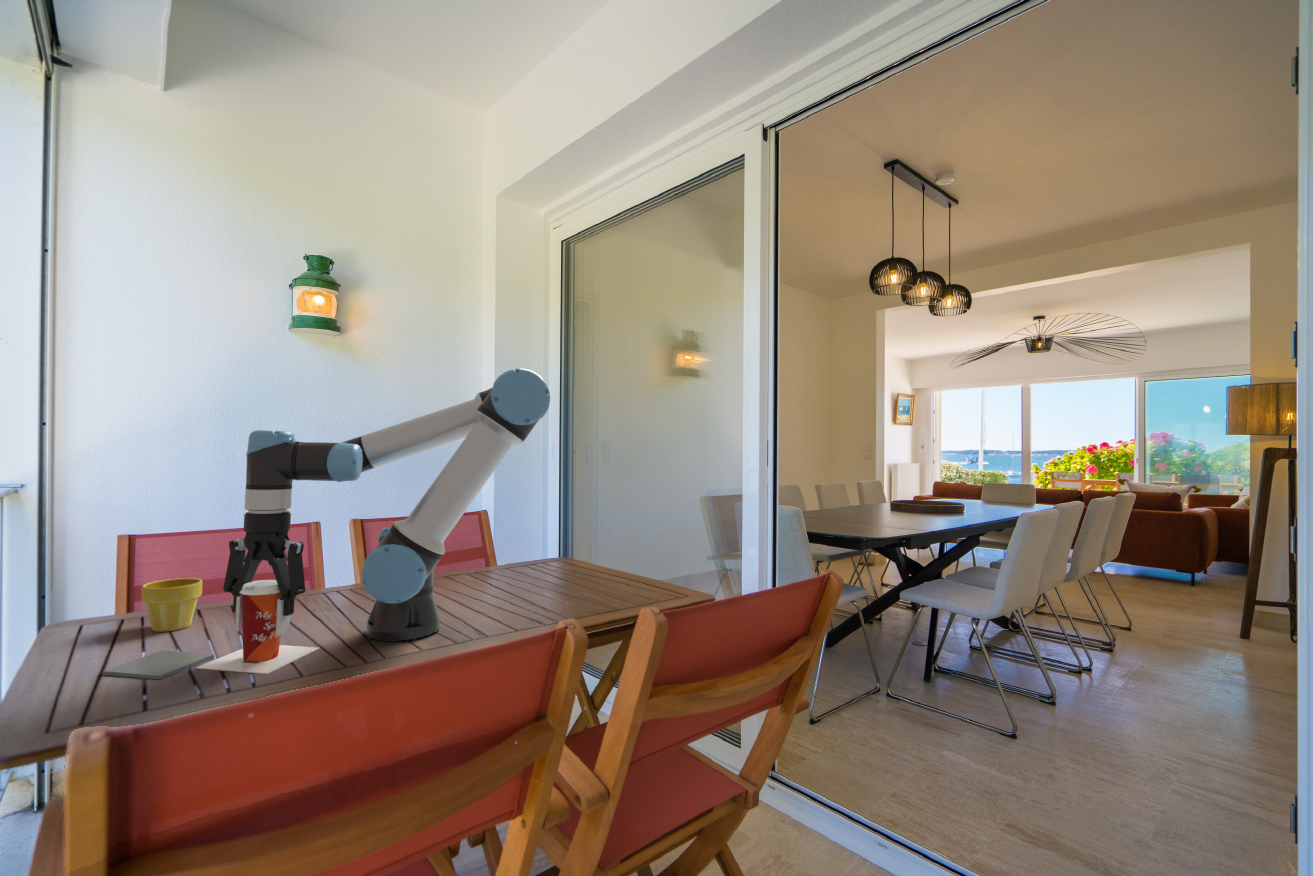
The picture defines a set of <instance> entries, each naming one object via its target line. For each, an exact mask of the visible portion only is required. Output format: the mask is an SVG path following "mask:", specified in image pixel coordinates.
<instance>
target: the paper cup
mask: <svg viewBox="0 0 1313 876" xmlns="http://www.w3.org/2000/svg"><path fill="white" fill-rule="evenodd" d="M240 594H242V633H241V634H242V649H243V659H244V661H246V662H262V661H267V660H271V659H273V658H276V657H277V656H278V653H279V646H280V645H281V636H282V634H276V619H277V599H279V598H280V597H282V596H281V593H280V590H279V587H278V584H277V581H276V579H262V580H261V579H260V580H252V582H249V583H246V584H244V585H243V587H242V590H241V591H240Z"/></svg>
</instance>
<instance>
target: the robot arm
mask: <svg viewBox="0 0 1313 876" xmlns="http://www.w3.org/2000/svg"><path fill="white" fill-rule="evenodd" d="M549 389H550V388H549V387H548V384H547V383H546V381H545V380H544V378H543V377H541V375H540V374H538V373H537V372H535V371H533V370H530V369H527V368H513V369H509V370H507V371H505V372H504V371H503V372H502V374H500V375H499V376H497V378H496V380H495V381H494V382H493V384H492V386H491V388H490V387H489V389H486V390H483V391H481V392H478V393H477V394H476V395H475V396H474V398H473V399H470V400H467V401H464V402H461V403H458V404H454V405H452V406H449V407H446V408H443V409H439V410H437V411H433V412H431V413H427V414H425V415H422V416H419V417H415V418H413V419H410V420H405V421H403V422H400V423H397V424H394V425H391V426H388V427H385V428H381V429H378V430H376V431H373V432H369V433H366V434H364V435H361V436H358V437H354V438H352V439H348V440H344V441H341V442H321V441H320V442H308V441H299V440H297V441H296V438H295V434H294V432H292V431H288V430H287V431H286V430H262V429H260V430H254V431H252V432H250V434H249V436H248V443H247V450H246V451H247V452H246V454H245V456H246V475H245V476H246V477H245V479H246V480H245V492H244V493H245V494H244V506H243V508H244V509H245V510H246V511H247V512H245V514H244V515H243V531H244V533H245V535H244V538H238V539H233V540H230V541H229V542H228V547H229V557H228V563H227V567H226V572H225V579H224V582H223V589H222V590H223V592H224V593H230V594H231V595H232V596H233V603H232V604H233V605H232V606H233V607H232V611H233V613H235V620H234V621H235V623H234V625H235V626H234V632H237V633H239V632H241V631H242V594H240V591H241V590H242V587H243V585H244V584H246V583H249V582H253V579H254V577H255V575H256V572H257V570H258V568H259V566H260V564H261V562H263V561H266V562H267V563H268V565H269V566H270V567H271V569H272V571H273V574H274V578H275V580H276V581H277V584H278V587H279V590H280V593H281V596H282V597H280V598H279V599H277V619H276V634H281V635H282V634H285V633H286V632H289V631H290V630H291V615H294V612H295V598H296V597H297V596H298V595H299V596H300V595H303V594H305V592H306V581H305V571H304V562H303V552H304V546H305V544H304V542H302V541H299V542H295V541H292V540H291V539H290V538H289V532H290V529H291V518H292V513H291V512H290V511H288V510H289V509H291V508H292V492H293V481H317V482H318V481H320V482H337V483H341V482H354V481H357V480H359V478H360V477H361V474H362V473H363V472H367V471H370V470H372V469H375V468H378V467H381V466H384V465H386V464H390V463H393V462H395V461H399V460H401V459H404V458H408V457H411V456H413V455H416V454H419V453H422V452H425V451H429V450H432V449H434V448H438V447H440V446H443V445H446V444H449V443H453V442H454V441H457V440H460V439H463V438H464V439H463V441H462V442H461V443H460V445H459V447H458V448H457V449H456V451H455V452H454V453H453V455H452V456H451V457H450V459H449V460H448V461H447V463H446V464H445V466H444V467H443V469H442V470H441V471H440V473H439V474H438V475H437V477H436V478H435V480H434V481H433V483H432V484H431V485H430V486H429V488H428V489H427V490H426V492H425V493H424V495H423V496H422V497H421V499H420V500H419V502H417V504H416V506H414V508H413V510H412V511H411V513H410V514H409V515H408V517H407V518H405V519H401V520H396V521H395V522H394V523H393V524H392V526H391V527H383V528H382V529H380V531H379V534H378V538H377V543H378V544H377V546H376V547H375V548H374V549H373V551H371V552H370V553H369V554H368V555H367V556H366V557H365V559H364V561H363V564H362V565H363V566H362V568H361V574H360V575H361V576H360V579H361V583H362V585H363V588H364V590H365V591H366V592H367V594H369V595H370V596H371V598H373V599H375V601H374V604H373V607H372V609H371V611H370V614H369V617H368V619H367V622H366V625H365V626H366V629H365V635H366V636H367V638H370V639H372V640H376V641H383V642H402V641H401V640H405V641H410V640H409V639H413V640H417V639H416V638H419V639H421V638H420V637H423V636H426V635H429V634H432V633H434V632H436V631H437V630H439V631H440V629H439V628H441V617H440V615H439V611H438V606H437V604H436V600H435V597H434V579H435V578H434V573H435V572H434V571H435V569H436V566H438V563H439V562H440V561H441V559H442V557H443V556H444V555H445V553H446V549H445V540H446V539H447V538H448V536H449V535H450V533H451V532H452V531H453V530H454V528H455V527H456V525H457V524H458V522H459V521H460V519H461V518H462V517H463V515H464V514H465V512H466V511H467V509H468V508H469V507H470V505H471V504H472V502H473V501H474V500H475V498H476V497H477V495H478V494H479V492H481V490H482V488H483V487H484V485H485V484H486V483H487V481H488V480H489V478H490V477H491V475H492V474H493V473H494V471H495V470H496V469H497V467H498V466H499V464H501V462H502V460H503V459H504V457H505V456H506V455H507V453H508V452H509V450H510V449H511V447H512V446H514V445H519V444H523V443H524V442H525V440H526V439H527V437H528V436H529V435H530V433H531V432H532V431H533V429H534V427H536V425H537V423H538V422H539V421H540V419H542V418H543V417H544V416H545V415H546V414H547V412H548V410H549V408H550V402H551V393H550V390H549ZM246 549H247V550H246ZM246 551H247V552H246ZM436 633H437V632H436ZM434 634H435V633H434ZM432 635H433V634H432ZM423 638H424V637H423Z"/></svg>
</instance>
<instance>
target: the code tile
mask: <svg viewBox="0 0 1313 876" xmlns="http://www.w3.org/2000/svg"><path fill="white" fill-rule="evenodd" d="M319 649H321V647H313V646H312V647H311V646H301V645H285V644H280V646H279V653H278V656H277V657H276V658H273V659H271V660H267V661H262V662H246V661H244V659H243V648H241V649H238V650H236V651H233V652H231V653H229V654H226V655H223V656H221V657H219V658H216V659H214V660H212V661H209V662H207V663H204V664H202V665H199V666H196V667H195V669H197V670H198V669H199V670H209V671H210V670H211V671H221V672H223V671H224V672H236V673H247V674H248V673H249V674H263V675H269V674H271V673H273V672H275V671H277V670H279V669H281V668H283V667H285V666H287V665H290V664H291V663H294V662H296V661H298V660H300V659H301V658H304V657H305V656H308V655H310V654H311V653H315V652H316V651H318V650H319Z"/></svg>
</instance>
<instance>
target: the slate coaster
mask: <svg viewBox="0 0 1313 876" xmlns="http://www.w3.org/2000/svg"><path fill="white" fill-rule="evenodd" d="M214 658H215V654H213V653H201V652H188V651H187V652H185V651H173V650H159V651H156V652H153V653H151V654H147V655H145V656H142V657H139V658H137V659H133V660H131V661H128V662H125V663H122V664H119V665H117V666H113V667H111V668H107V669H105V670H103V671H102V675H103V676H116V677H127V678H139V679H140V678H141V679H152V680H162V679H164V678H167V677H169V676H171V675H175V674H177V673H179V672H182V671H185V670H186V669H189V668H192V667H195V666H196V665H199V664H201V663H204V662H206V661H209V660H212V659H214Z"/></svg>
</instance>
